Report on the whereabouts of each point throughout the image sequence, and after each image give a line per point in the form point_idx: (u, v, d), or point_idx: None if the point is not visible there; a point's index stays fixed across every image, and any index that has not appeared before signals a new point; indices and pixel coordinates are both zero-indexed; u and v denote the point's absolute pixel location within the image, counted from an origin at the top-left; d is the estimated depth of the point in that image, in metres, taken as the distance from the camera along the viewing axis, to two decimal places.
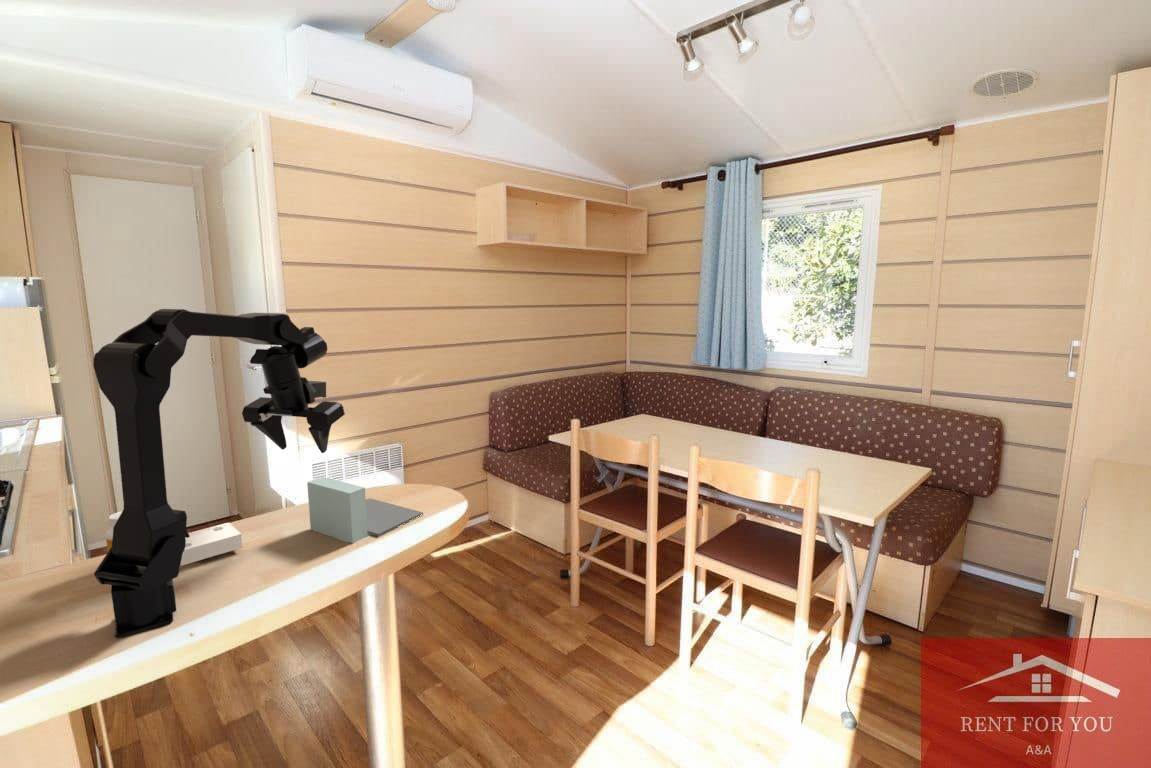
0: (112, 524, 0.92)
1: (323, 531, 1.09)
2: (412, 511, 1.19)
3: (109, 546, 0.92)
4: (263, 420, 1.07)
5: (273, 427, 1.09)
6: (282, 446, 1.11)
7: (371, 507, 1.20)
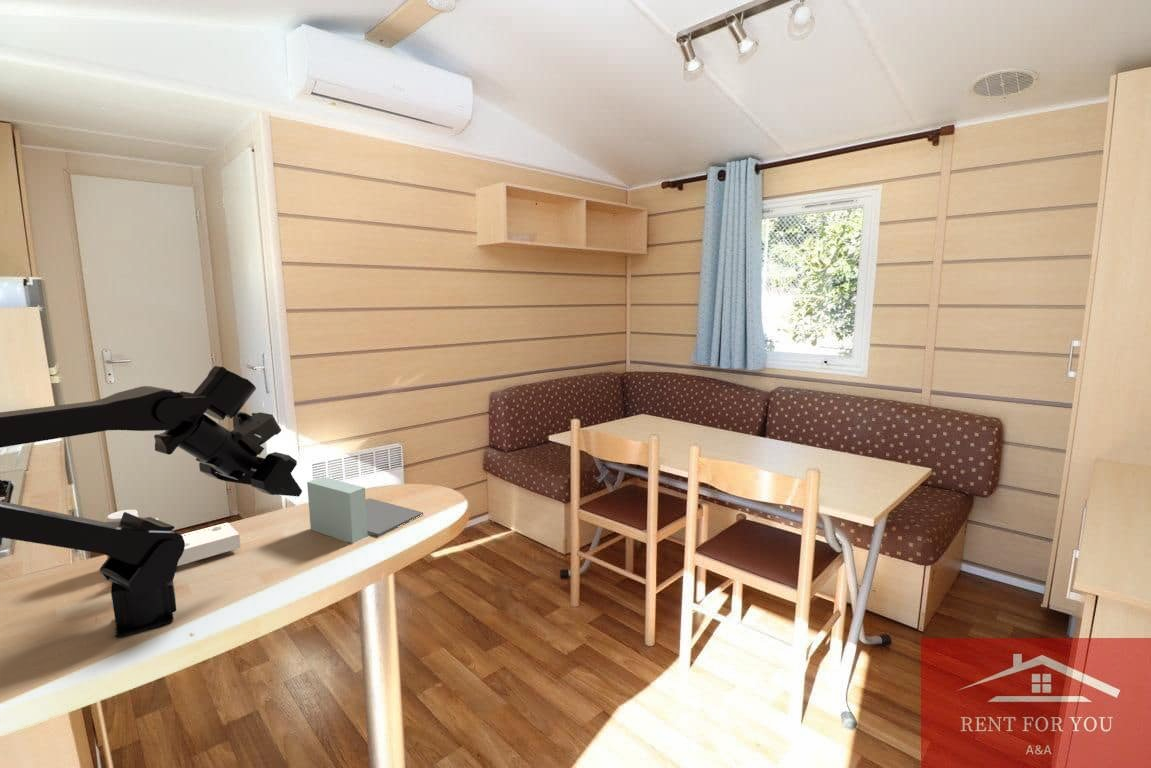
0: None
1: (323, 531, 1.09)
2: (412, 511, 1.19)
3: None
4: None
5: None
6: None
7: (371, 507, 1.20)
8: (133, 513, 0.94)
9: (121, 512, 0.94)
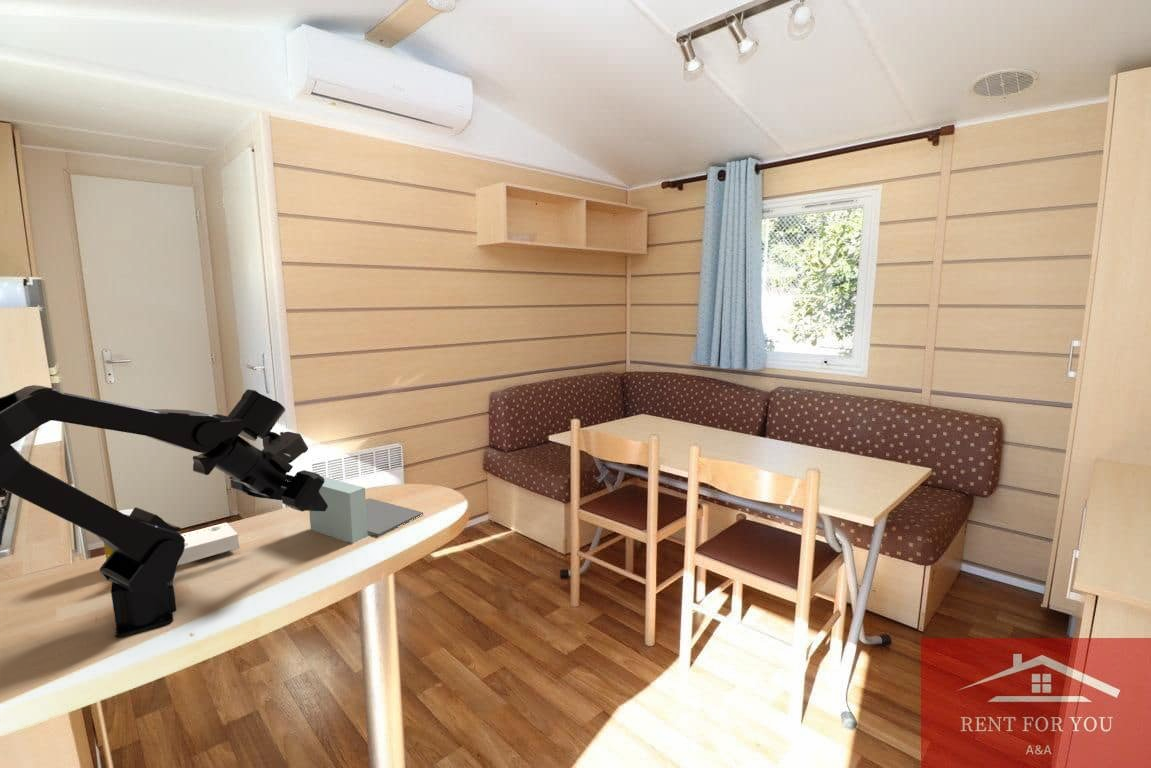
0: None
1: (323, 531, 1.09)
2: (412, 511, 1.19)
3: (106, 545, 0.92)
4: None
5: None
6: None
7: (371, 507, 1.20)
8: None
9: None
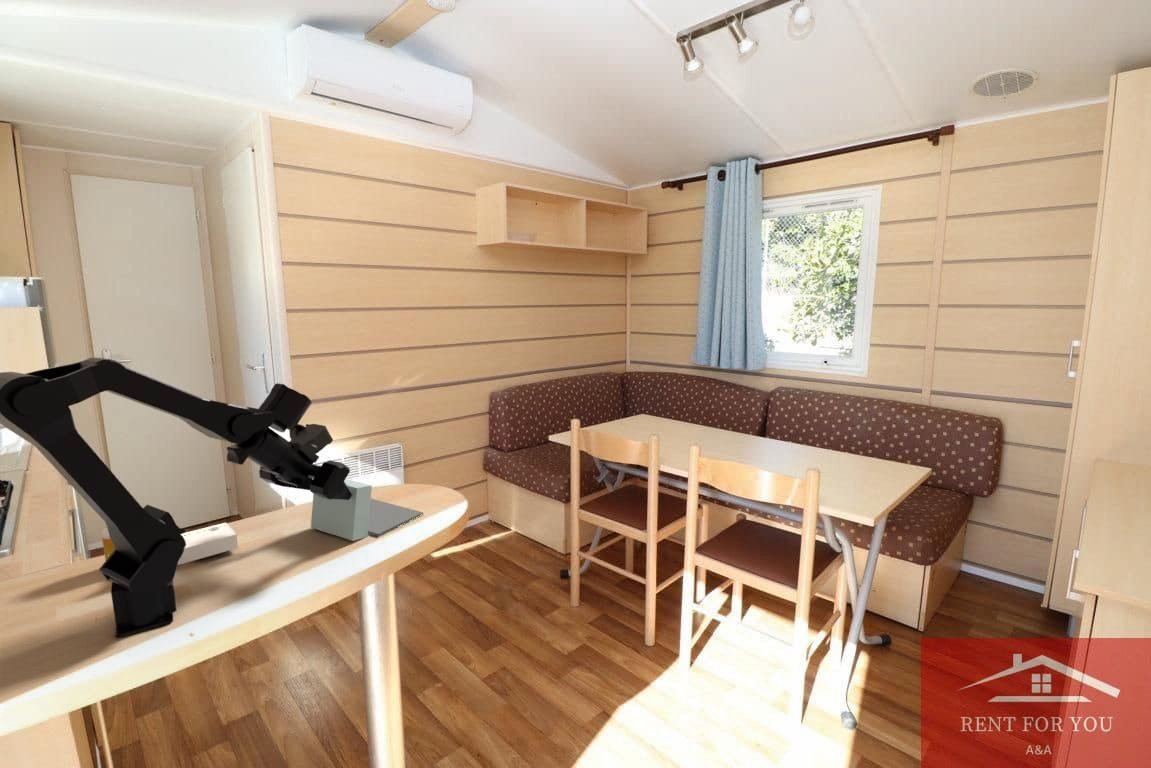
0: None
1: (324, 528, 1.09)
2: (412, 511, 1.19)
3: (105, 545, 0.92)
4: None
5: None
6: None
7: (371, 507, 1.20)
8: None
9: None
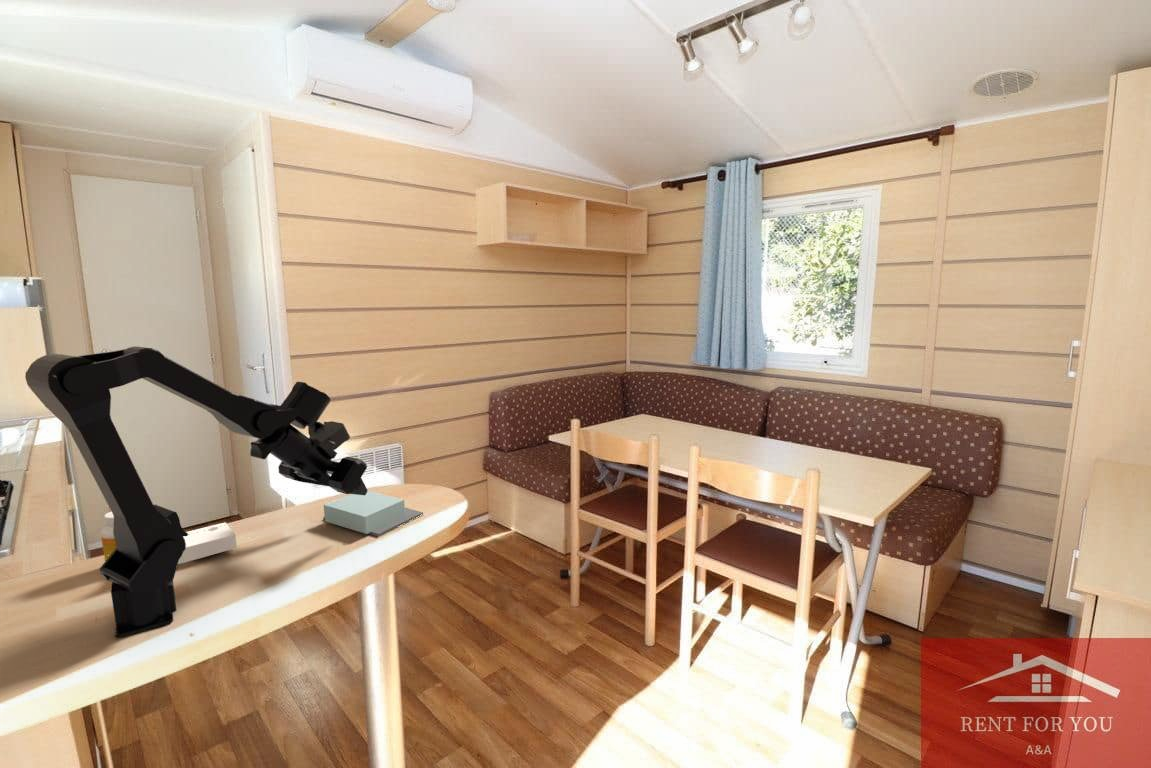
0: (107, 522, 0.92)
1: (339, 507, 1.11)
2: (412, 511, 1.19)
3: (104, 544, 0.92)
4: None
5: None
6: None
7: None
8: None
9: None
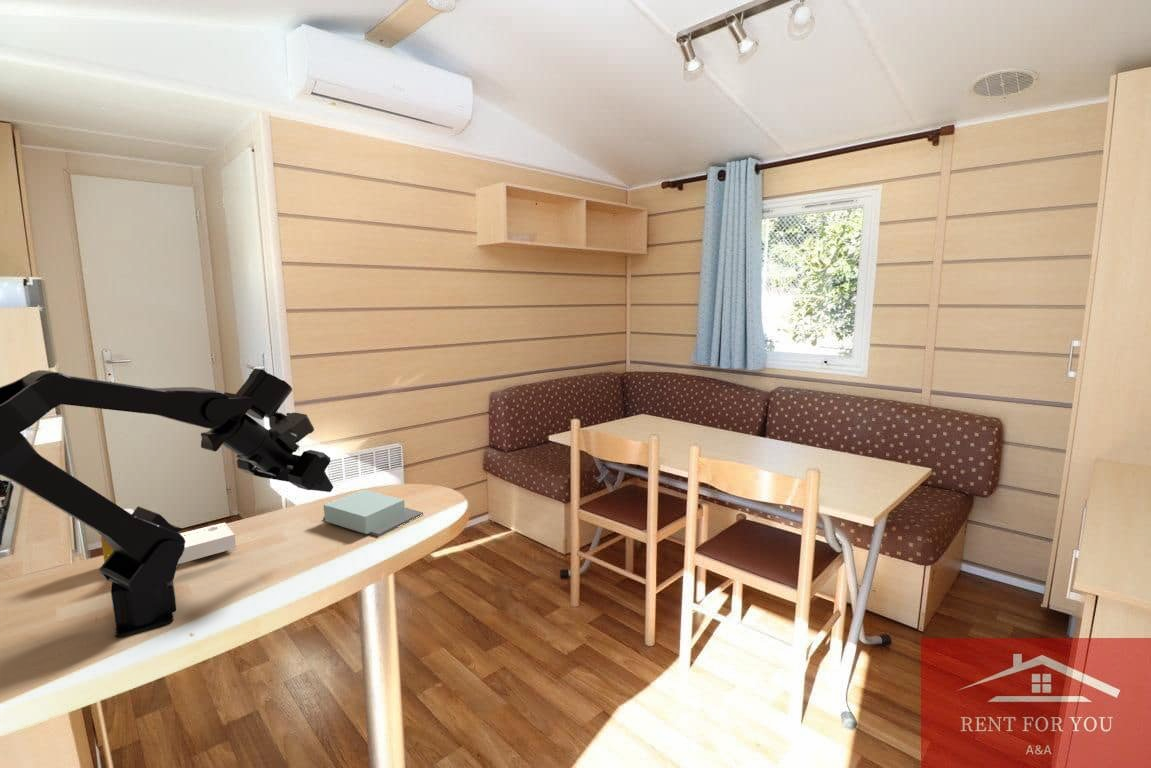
0: None
1: (339, 507, 1.11)
2: (412, 511, 1.19)
3: (103, 544, 0.92)
4: None
5: None
6: None
7: None
8: (129, 512, 0.94)
9: None
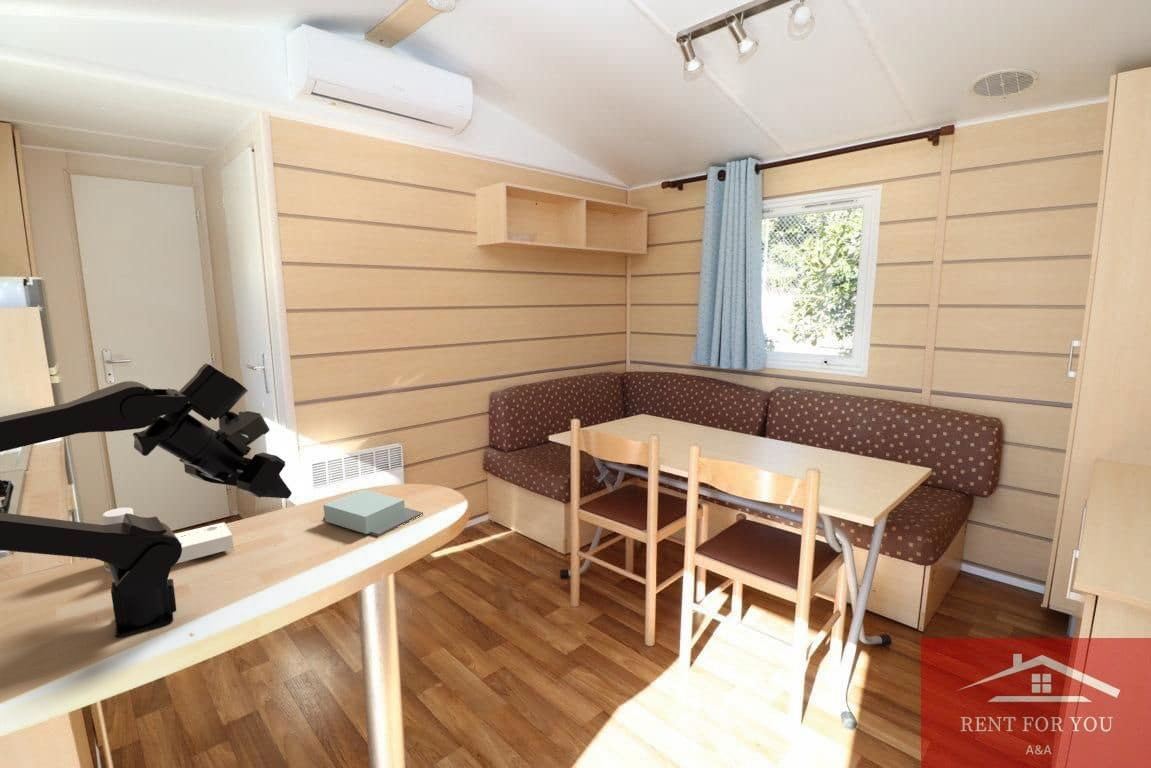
0: (105, 521, 0.93)
1: (339, 507, 1.11)
2: (412, 511, 1.19)
3: None
4: None
5: None
6: None
7: None
8: (128, 511, 0.95)
9: (117, 510, 0.95)
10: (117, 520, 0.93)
